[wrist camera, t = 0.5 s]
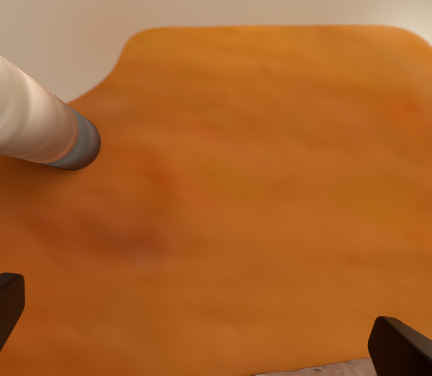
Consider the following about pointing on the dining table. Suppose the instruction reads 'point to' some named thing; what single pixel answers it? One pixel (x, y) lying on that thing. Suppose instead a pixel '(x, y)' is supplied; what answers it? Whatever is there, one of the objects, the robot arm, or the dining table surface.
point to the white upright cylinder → (42, 124)
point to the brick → (334, 369)
